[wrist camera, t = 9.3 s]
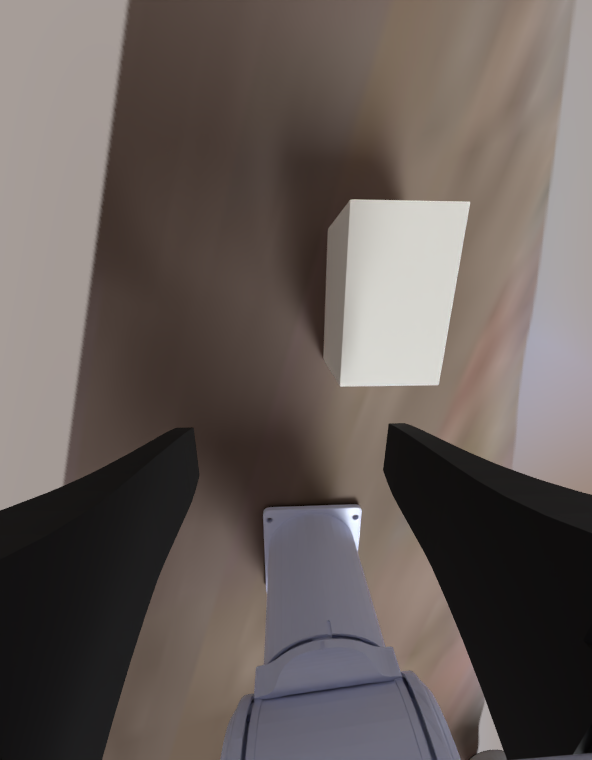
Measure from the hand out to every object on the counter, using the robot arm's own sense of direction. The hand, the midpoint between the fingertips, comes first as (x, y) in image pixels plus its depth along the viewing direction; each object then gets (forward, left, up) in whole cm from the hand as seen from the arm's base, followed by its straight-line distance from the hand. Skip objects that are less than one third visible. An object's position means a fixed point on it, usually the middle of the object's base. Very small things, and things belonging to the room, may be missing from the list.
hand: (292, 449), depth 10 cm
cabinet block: (+5, -5, -10) cm, 12 cm away
